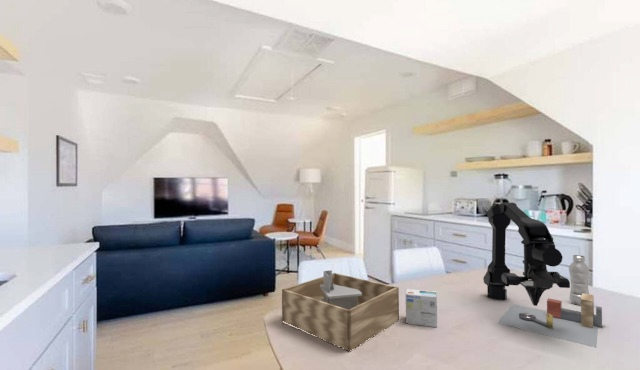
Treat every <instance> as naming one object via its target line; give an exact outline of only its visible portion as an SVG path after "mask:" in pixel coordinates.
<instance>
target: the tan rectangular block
mask: <svg viewBox="0 0 640 370" xmlns="http://www.w3.org/2000/svg"><path fill="white" fill-rule="evenodd" d="M594 304H595V302H594V295H593V294H590V293H589V294H584V293H582V297H581V306H580V312H581V326H585V327H590V328H593V314H594V315H595V311H594V310H595V309H594V308H595V305H594Z"/></svg>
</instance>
